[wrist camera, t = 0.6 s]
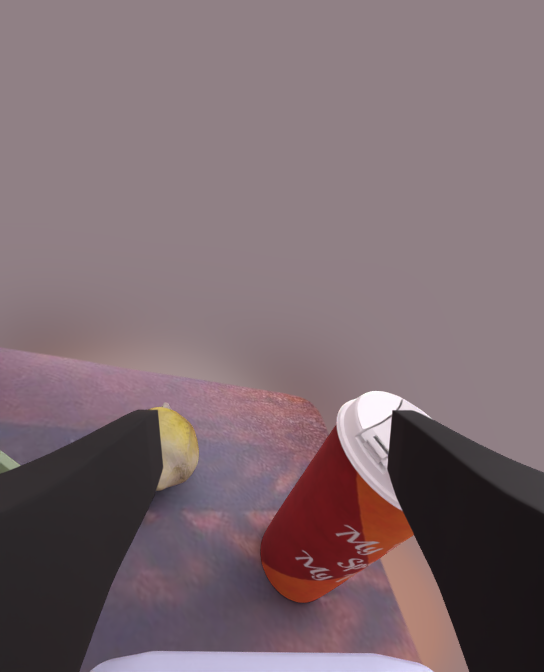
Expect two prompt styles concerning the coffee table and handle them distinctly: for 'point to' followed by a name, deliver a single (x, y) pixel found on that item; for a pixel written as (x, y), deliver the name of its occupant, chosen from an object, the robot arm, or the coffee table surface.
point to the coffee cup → (339, 505)
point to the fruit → (176, 447)
